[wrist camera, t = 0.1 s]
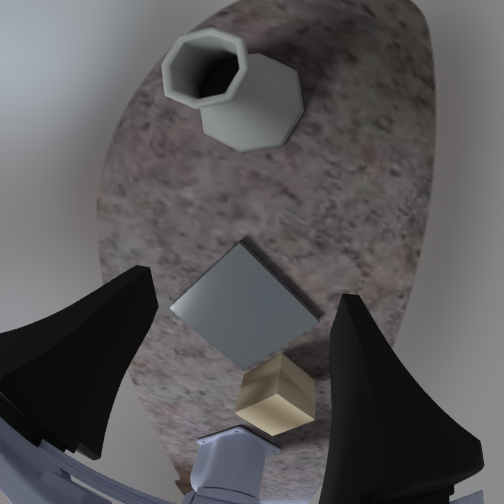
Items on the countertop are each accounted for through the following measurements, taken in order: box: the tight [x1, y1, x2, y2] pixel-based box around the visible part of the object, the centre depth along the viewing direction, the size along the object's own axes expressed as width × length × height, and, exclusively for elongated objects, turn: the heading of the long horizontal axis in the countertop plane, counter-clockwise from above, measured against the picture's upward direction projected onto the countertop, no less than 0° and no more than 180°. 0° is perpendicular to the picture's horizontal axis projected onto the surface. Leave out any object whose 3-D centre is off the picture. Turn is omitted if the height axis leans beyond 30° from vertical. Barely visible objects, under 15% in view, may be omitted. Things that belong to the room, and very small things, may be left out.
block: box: [234, 353, 315, 436], centre depth 23 cm, size 5×5×5 cm
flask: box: [161, 27, 304, 152], centre depth 12 cm, size 7×7×10 cm
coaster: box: [170, 240, 320, 370], centre depth 23 cm, size 9×9×1 cm
